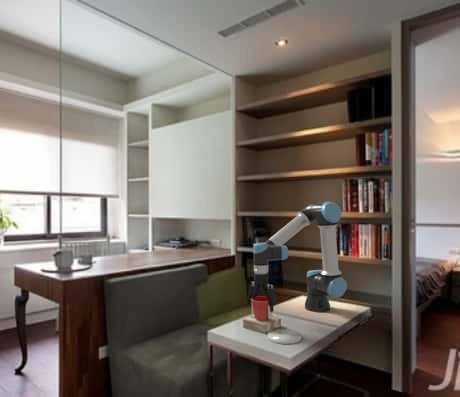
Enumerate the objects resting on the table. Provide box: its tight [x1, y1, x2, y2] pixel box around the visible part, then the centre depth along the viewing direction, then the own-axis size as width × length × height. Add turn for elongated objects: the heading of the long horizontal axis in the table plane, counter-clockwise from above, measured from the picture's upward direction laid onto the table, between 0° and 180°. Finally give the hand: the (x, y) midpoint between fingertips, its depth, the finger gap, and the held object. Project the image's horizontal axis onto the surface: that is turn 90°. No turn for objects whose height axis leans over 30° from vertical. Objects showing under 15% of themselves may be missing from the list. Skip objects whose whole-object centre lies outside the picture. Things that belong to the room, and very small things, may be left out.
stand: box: [242, 314, 282, 334], centre depth 178 cm, size 14×14×4 cm
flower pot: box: [250, 295, 269, 320], centre depth 178 cm, size 11×11×10 cm
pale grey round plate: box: [267, 328, 303, 345], centre depth 163 cm, size 16×16×1 cm
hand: (261, 315), depth 178 cm, fingers closed on flower pot, 10 cm apart
